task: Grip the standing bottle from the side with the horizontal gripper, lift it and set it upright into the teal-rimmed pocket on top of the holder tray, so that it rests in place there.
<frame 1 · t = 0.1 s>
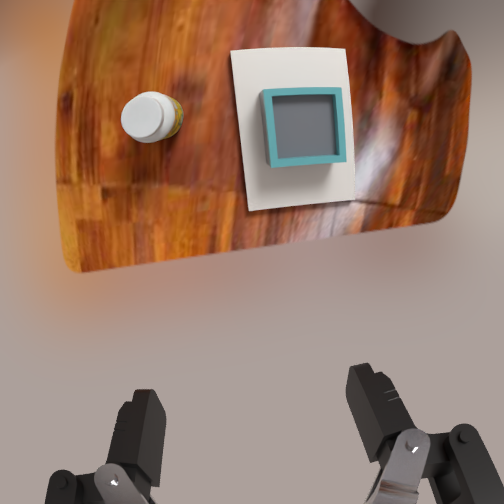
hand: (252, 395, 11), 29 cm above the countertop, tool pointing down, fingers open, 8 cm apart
holder tray: (296, 125, 34), on the countertop
supplement bottle: (162, 117, 33), on the countertop
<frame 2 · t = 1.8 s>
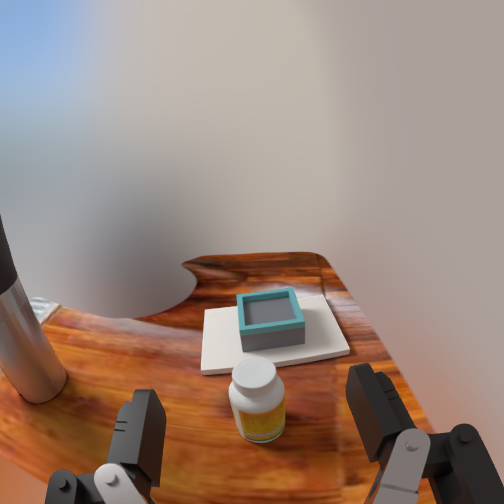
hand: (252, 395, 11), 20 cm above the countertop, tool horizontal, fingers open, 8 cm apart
holder tray: (270, 334, 44), on the countertop
supplement bottle: (261, 426, 30), on the countertop
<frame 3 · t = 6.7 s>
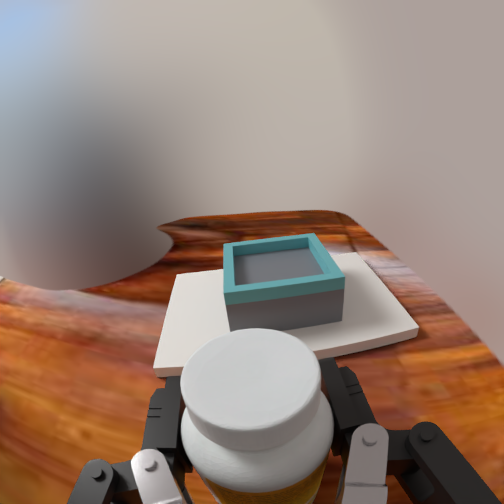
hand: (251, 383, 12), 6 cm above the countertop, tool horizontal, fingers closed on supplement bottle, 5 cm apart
holder tray: (279, 308, 27), on the countertop
supplement bottle: (267, 486, 12), on the countertop, touching gripper
when the fingers open (11 cm above the countertop, at t = 11.6 s): supplement bottle drops 1 cm, resting on holder tray.
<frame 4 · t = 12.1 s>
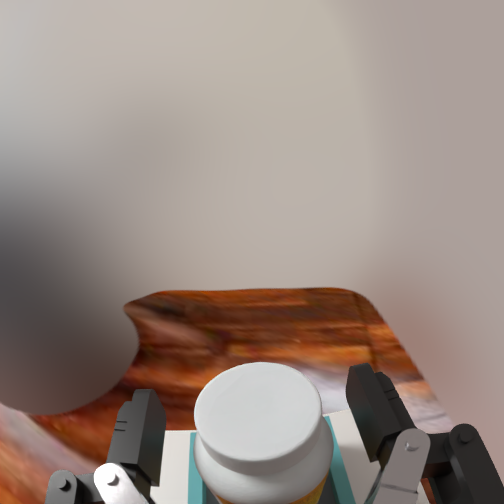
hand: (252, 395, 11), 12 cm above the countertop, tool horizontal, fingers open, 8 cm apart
supplement bottle: (271, 495, 13), point 4 cm above the countertop, touching holder tray
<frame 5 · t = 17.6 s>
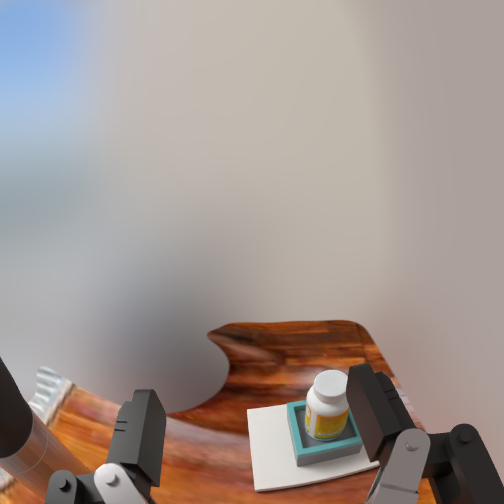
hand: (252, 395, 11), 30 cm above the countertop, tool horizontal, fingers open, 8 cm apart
holder tray: (321, 439, 36), on the countertop
supplement bottle: (324, 426, 34), point 4 cm above the countertop, touching holder tray
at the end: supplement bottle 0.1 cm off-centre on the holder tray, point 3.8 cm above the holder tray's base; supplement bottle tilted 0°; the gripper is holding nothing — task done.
